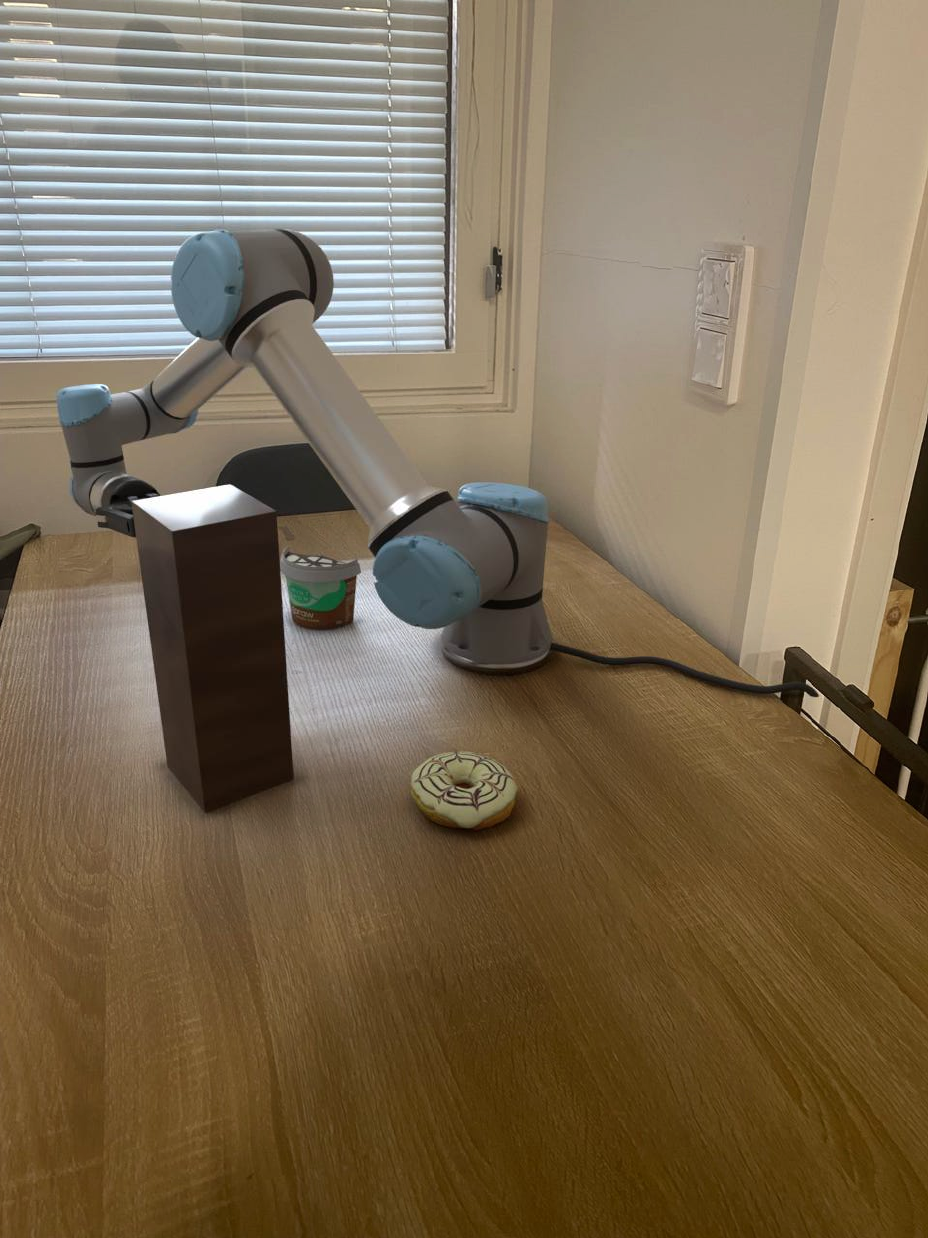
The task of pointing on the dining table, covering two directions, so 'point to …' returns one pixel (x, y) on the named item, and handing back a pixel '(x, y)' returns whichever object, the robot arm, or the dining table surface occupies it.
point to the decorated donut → (463, 790)
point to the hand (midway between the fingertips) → (193, 531)
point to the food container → (320, 590)
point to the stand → (217, 640)
